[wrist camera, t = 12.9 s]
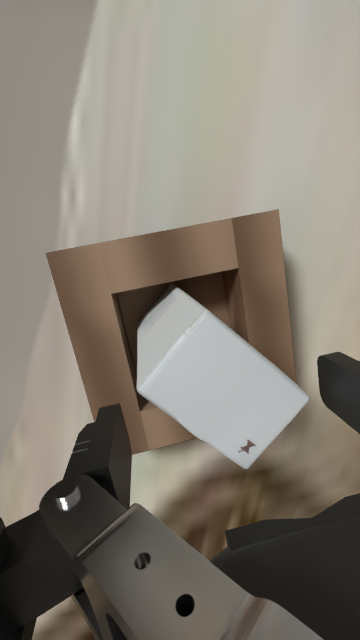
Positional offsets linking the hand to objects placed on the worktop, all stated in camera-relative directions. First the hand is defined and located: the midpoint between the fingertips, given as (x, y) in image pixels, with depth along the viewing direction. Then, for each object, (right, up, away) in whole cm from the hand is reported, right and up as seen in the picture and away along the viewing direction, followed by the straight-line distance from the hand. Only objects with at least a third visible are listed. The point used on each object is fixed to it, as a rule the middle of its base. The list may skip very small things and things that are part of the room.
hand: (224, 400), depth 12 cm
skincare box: (-2, +3, +12) cm, 12 cm away
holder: (-2, +3, +12) cm, 13 cm away
